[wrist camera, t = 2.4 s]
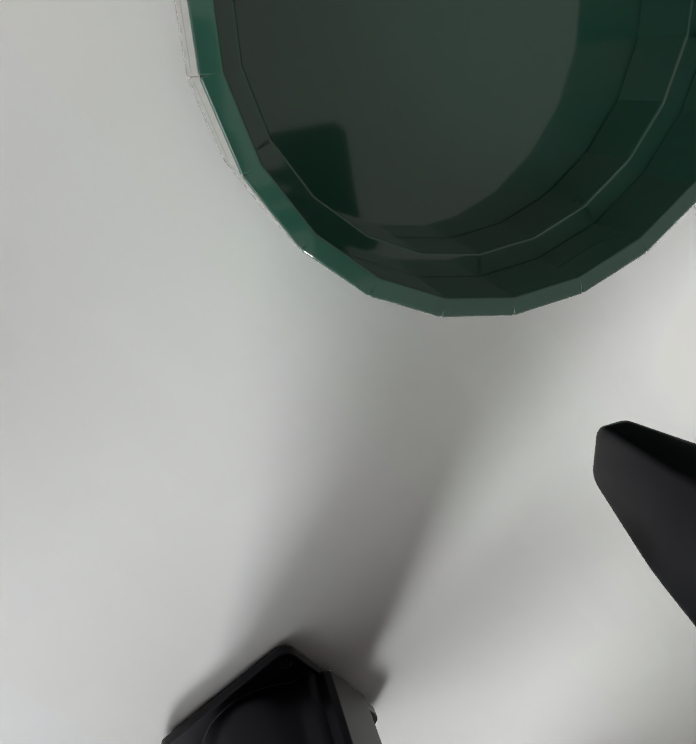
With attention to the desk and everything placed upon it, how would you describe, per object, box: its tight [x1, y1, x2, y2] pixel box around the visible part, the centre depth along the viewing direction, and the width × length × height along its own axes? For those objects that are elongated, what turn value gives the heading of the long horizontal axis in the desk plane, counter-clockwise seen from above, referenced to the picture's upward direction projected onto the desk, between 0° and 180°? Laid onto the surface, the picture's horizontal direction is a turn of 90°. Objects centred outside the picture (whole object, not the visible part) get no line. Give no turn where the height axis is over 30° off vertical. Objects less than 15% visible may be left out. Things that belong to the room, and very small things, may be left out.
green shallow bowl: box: [175, 0, 696, 317], centre depth 15 cm, size 14×14×4 cm
